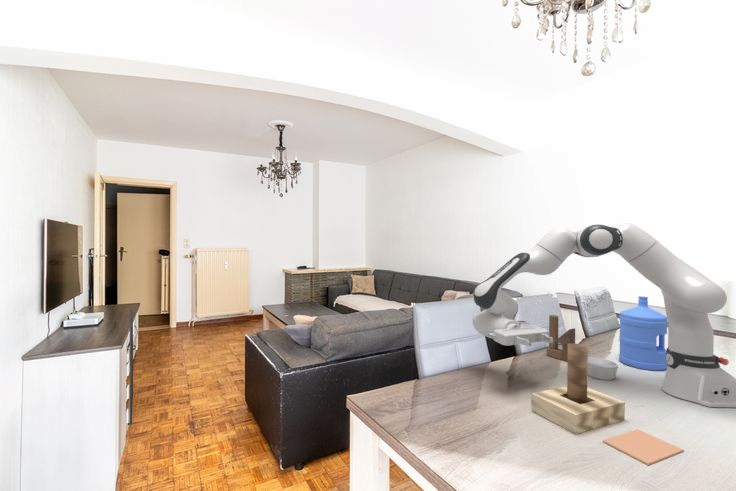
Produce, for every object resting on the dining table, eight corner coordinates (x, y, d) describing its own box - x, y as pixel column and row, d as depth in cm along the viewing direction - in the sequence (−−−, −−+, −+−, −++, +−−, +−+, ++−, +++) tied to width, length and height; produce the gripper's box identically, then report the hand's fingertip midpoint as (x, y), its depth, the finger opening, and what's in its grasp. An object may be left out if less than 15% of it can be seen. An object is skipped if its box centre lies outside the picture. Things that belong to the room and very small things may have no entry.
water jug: (625, 367, 140) (626, 298, 140) (614, 356, 155) (615, 293, 155) (674, 373, 134) (675, 301, 134) (658, 361, 149) (658, 295, 149)
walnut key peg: (583, 411, 103) (583, 344, 103) (590, 420, 98) (590, 349, 98) (564, 410, 104) (565, 342, 104) (570, 418, 99) (571, 347, 99)
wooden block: (569, 363, 146) (570, 320, 145) (546, 355, 155) (546, 315, 155) (575, 361, 147) (575, 319, 147) (552, 354, 157) (552, 314, 157)
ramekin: (618, 384, 124) (618, 369, 124) (581, 377, 130) (582, 363, 130) (616, 374, 134) (616, 360, 134) (582, 368, 140) (582, 355, 140)
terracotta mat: (637, 430, 93) (637, 429, 93) (683, 451, 83) (683, 449, 83) (602, 441, 87) (602, 440, 87) (648, 465, 78) (648, 463, 78)
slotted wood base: (577, 399, 111) (577, 383, 111) (624, 419, 98) (624, 402, 98) (531, 410, 103) (531, 393, 103) (575, 434, 91) (575, 415, 91)
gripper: (485, 324, 121) (516, 334, 108) (529, 320, 129) (563, 329, 116) (485, 342, 121) (516, 355, 108) (528, 337, 129) (562, 348, 116)
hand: (540, 342), depth 112 cm, fingers open, 8 cm apart
